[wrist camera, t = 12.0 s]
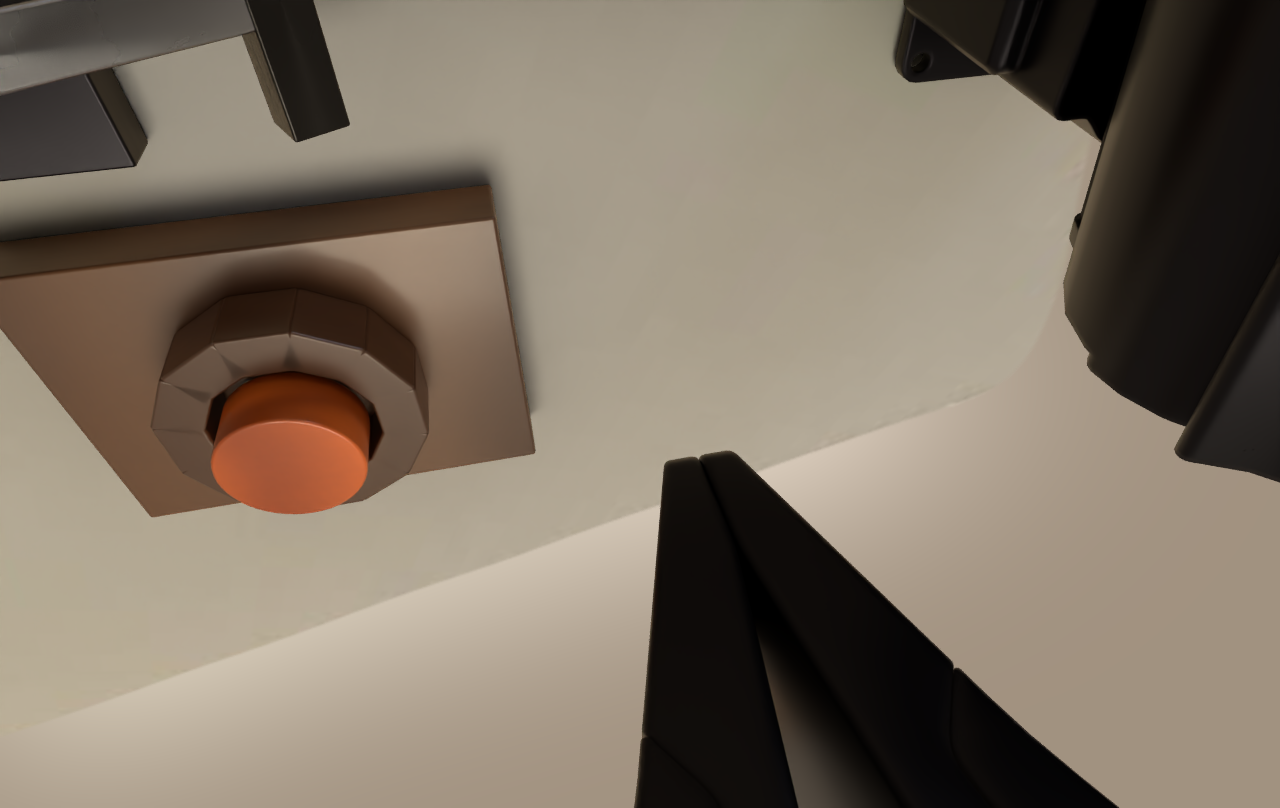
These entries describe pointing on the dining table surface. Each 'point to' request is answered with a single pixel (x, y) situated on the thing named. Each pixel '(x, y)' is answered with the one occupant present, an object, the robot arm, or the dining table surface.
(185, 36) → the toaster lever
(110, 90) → the lever bracket
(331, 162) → the dining table surface
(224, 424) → the button
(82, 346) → the button block
